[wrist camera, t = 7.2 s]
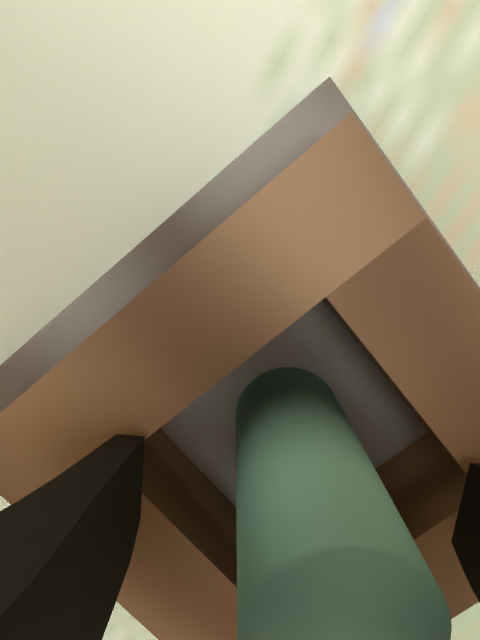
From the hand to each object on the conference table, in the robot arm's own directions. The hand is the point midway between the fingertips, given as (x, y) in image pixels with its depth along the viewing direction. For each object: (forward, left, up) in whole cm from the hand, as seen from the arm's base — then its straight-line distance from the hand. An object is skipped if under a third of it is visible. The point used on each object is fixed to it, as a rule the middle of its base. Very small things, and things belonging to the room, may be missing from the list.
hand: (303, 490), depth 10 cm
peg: (0, 0, -3) cm, 3 cm away
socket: (0, 0, -4) cm, 4 cm away
